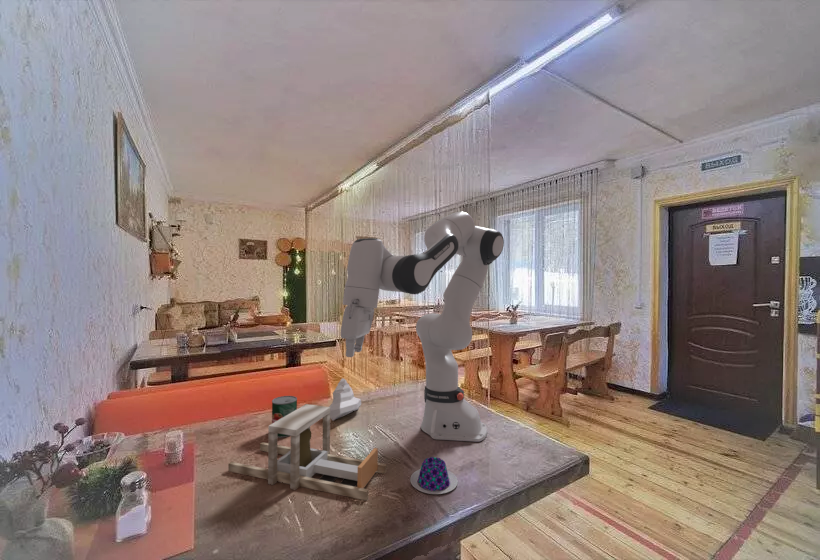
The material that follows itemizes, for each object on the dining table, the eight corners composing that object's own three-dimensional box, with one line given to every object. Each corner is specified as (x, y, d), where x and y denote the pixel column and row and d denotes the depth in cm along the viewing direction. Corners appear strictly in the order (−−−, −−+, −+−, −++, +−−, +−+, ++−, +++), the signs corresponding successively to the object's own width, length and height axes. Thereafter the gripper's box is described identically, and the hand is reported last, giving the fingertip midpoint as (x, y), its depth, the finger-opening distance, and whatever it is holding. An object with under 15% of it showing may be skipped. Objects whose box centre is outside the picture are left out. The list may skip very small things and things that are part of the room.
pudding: (410, 469, 95) (410, 450, 95) (454, 470, 94) (455, 450, 94) (409, 496, 83) (409, 474, 83) (460, 497, 82) (460, 475, 82)
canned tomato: (266, 435, 114) (266, 401, 114) (283, 426, 121) (283, 394, 121) (285, 439, 111) (285, 405, 111) (301, 429, 118) (302, 397, 118)
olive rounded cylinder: (305, 477, 90) (306, 435, 90) (284, 475, 91) (284, 432, 91) (316, 465, 96) (317, 425, 96) (296, 463, 97) (296, 423, 97)
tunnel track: (388, 468, 94) (389, 414, 94) (363, 504, 79) (363, 440, 79) (266, 446, 106) (266, 398, 106) (223, 474, 91) (223, 418, 91)
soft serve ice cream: (317, 422, 128) (313, 382, 132) (346, 413, 141) (342, 377, 144) (341, 421, 122) (336, 379, 125) (369, 411, 134) (364, 374, 137)
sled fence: (377, 471, 92) (377, 448, 92) (361, 493, 83) (361, 467, 83) (296, 456, 100) (296, 435, 100) (272, 474, 90) (273, 451, 90)
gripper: (365, 300, 79) (357, 361, 78) (378, 301, 99) (372, 350, 98) (338, 297, 79) (330, 358, 78) (356, 299, 100) (350, 347, 99)
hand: (353, 354), depth 89 cm, fingers open, 8 cm apart
